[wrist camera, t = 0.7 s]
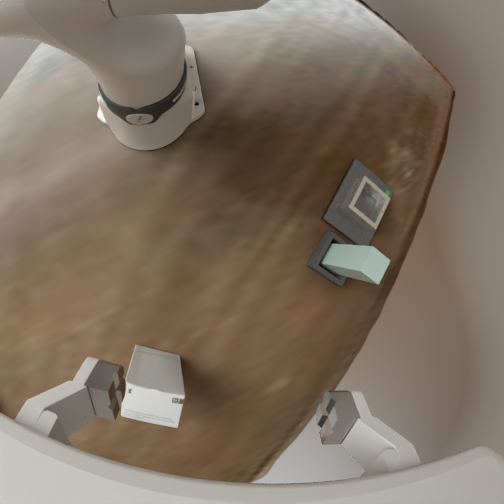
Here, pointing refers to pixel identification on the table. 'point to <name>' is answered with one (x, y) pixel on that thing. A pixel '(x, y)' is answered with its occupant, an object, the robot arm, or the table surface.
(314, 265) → the holster
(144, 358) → the skincare box
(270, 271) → the table surface
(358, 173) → the port panel
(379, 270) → the plug
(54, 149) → the table surface
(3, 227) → the table surface
